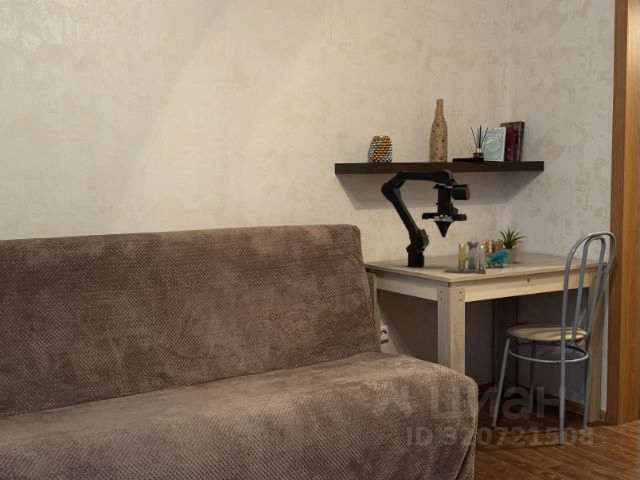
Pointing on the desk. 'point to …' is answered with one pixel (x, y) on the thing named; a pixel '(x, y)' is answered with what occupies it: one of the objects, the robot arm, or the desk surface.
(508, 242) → the house plant
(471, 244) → the grey stone tower
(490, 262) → the blue animal figurine
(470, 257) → the swing leg
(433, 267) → the desk surface
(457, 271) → the bolt plate
